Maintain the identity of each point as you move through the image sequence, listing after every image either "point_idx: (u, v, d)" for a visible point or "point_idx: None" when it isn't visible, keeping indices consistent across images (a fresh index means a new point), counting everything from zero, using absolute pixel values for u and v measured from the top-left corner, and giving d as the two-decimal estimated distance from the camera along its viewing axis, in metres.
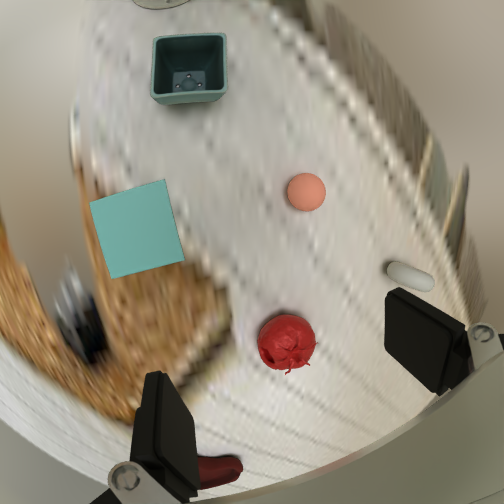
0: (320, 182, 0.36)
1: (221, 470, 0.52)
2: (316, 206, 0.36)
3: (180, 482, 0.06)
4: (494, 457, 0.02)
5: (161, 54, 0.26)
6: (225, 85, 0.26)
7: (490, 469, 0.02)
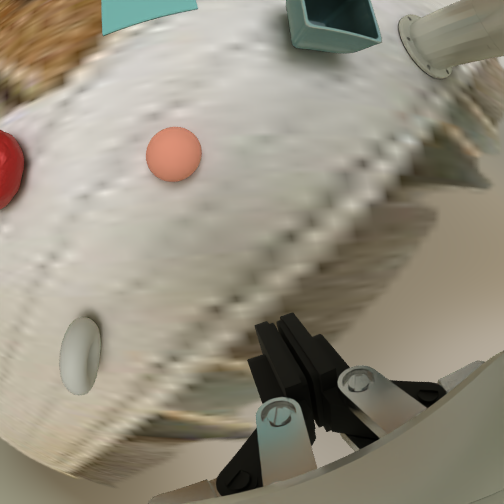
0: (187, 164, 0.23)
1: None
2: (152, 161, 0.23)
3: None
4: (494, 457, 0.02)
5: (346, 1, 0.20)
6: (315, 25, 0.18)
7: (490, 469, 0.02)
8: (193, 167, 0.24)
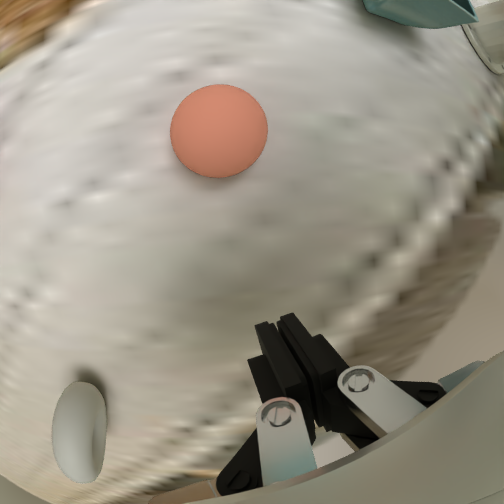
0: (251, 146, 0.13)
1: None
2: (185, 138, 0.12)
3: None
4: (494, 457, 0.02)
5: None
6: None
7: (490, 469, 0.02)
8: (258, 153, 0.14)
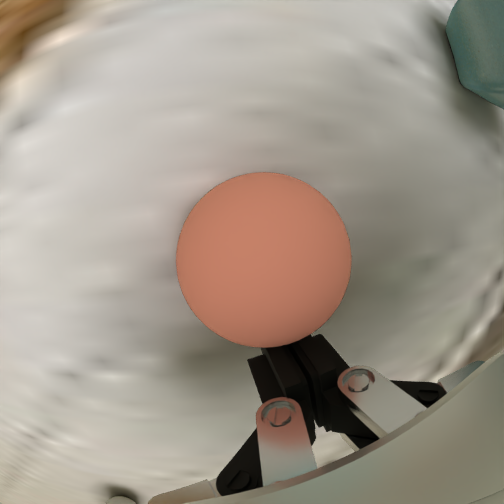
0: (317, 243, 0.06)
1: None
2: (185, 242, 0.07)
3: None
4: (494, 457, 0.02)
5: None
6: None
7: (490, 469, 0.02)
8: (337, 270, 0.07)
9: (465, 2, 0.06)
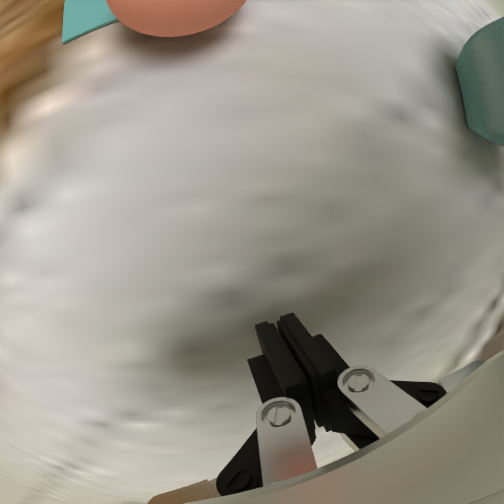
0: None
1: None
2: None
3: None
4: (494, 457, 0.02)
5: None
6: None
7: (490, 469, 0.02)
8: None
9: (480, 40, 0.07)
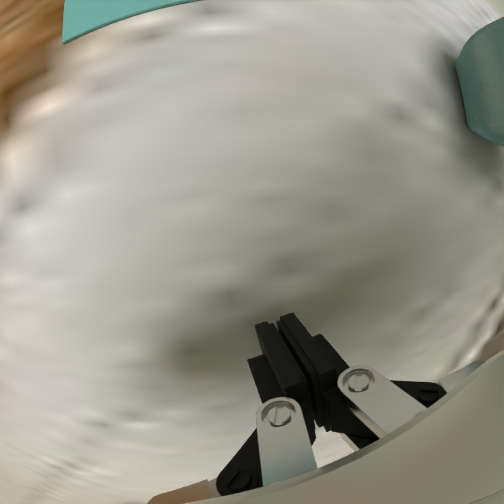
0: None
1: None
2: None
3: None
4: (494, 457, 0.02)
5: None
6: None
7: (490, 469, 0.02)
8: None
9: (480, 40, 0.07)
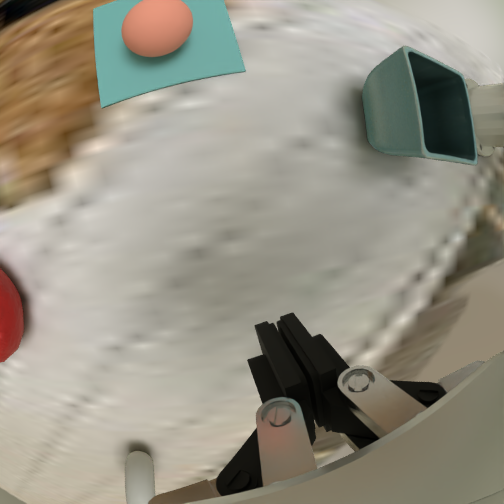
0: None
1: None
2: None
3: None
4: (494, 457, 0.02)
5: (433, 84, 0.18)
6: (430, 154, 0.15)
7: (490, 469, 0.02)
8: None
9: (372, 78, 0.17)
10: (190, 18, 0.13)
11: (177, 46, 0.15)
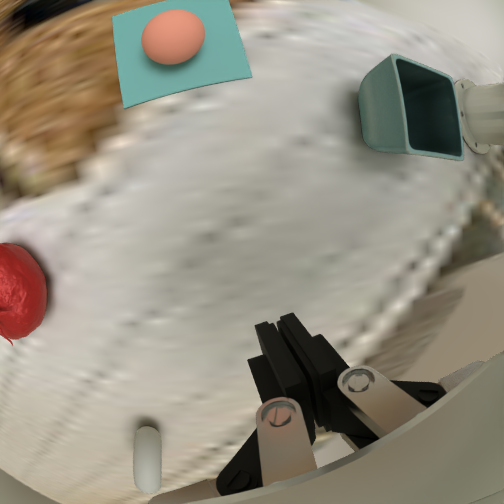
0: None
1: None
2: None
3: None
4: (494, 457, 0.02)
5: (424, 87, 0.20)
6: (414, 151, 0.17)
7: (490, 469, 0.02)
8: (184, 10, 0.15)
9: (365, 83, 0.20)
10: (202, 31, 0.16)
11: (191, 55, 0.18)
